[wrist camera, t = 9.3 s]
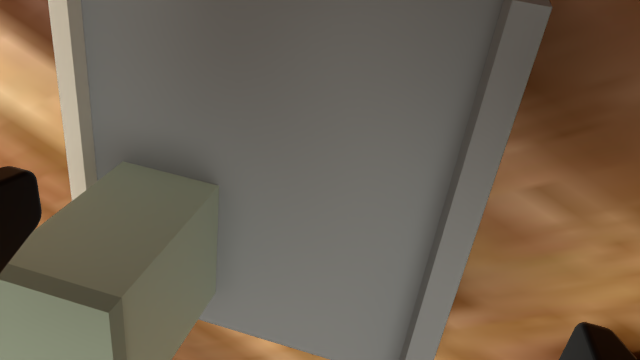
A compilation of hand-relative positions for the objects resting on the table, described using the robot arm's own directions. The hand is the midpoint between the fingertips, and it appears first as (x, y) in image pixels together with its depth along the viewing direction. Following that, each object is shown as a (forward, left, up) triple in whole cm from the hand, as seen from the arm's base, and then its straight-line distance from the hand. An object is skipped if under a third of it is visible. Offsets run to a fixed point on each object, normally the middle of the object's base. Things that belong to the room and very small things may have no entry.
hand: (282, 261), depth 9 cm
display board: (+6, -4, -13) cm, 15 cm away
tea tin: (+10, -8, -12) cm, 17 cm away
